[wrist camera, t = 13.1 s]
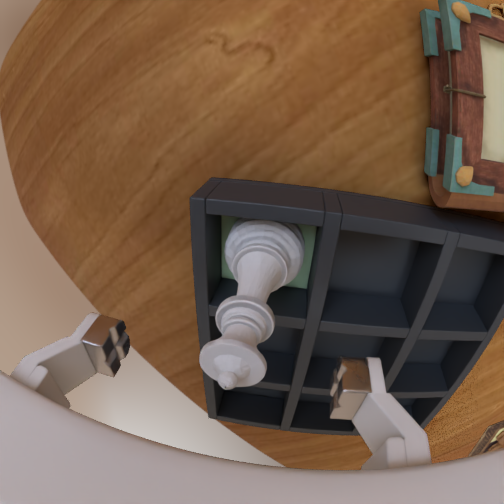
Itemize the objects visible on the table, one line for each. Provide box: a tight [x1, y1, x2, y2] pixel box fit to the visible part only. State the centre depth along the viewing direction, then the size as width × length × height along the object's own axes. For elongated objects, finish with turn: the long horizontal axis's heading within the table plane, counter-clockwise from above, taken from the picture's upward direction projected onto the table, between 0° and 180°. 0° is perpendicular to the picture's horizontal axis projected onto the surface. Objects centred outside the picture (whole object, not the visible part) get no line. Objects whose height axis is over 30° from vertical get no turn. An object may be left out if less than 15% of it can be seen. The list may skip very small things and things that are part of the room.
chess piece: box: [199, 217, 305, 390], centre depth 13 cm, size 4×4×10 cm
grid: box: [190, 177, 504, 435], centre depth 19 cm, size 20×20×4 cm
